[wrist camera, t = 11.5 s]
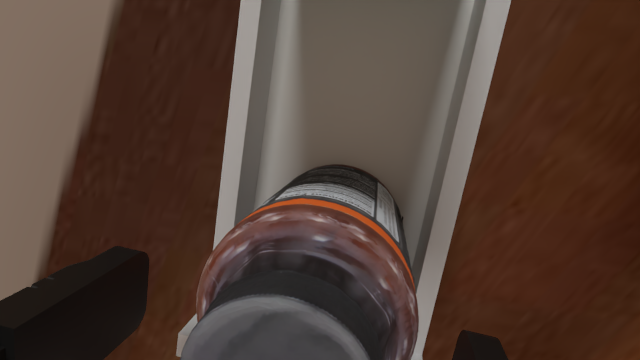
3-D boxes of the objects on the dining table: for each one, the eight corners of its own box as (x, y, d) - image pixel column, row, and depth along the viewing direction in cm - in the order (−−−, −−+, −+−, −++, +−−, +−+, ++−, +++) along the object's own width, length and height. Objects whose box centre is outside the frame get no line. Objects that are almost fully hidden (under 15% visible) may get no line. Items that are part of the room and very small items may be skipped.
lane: (294, -184, 16) (242, -347, 10) (530, -167, 15) (623, -342, 9) (234, 286, 21) (176, 355, 15) (411, 328, 20) (422, 422, 14)
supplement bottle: (373, 300, 19) (359, 580, 8) (261, 253, 19) (97, 451, 8) (423, 189, 17) (495, 336, 6) (302, 141, 18) (169, 198, 7)
